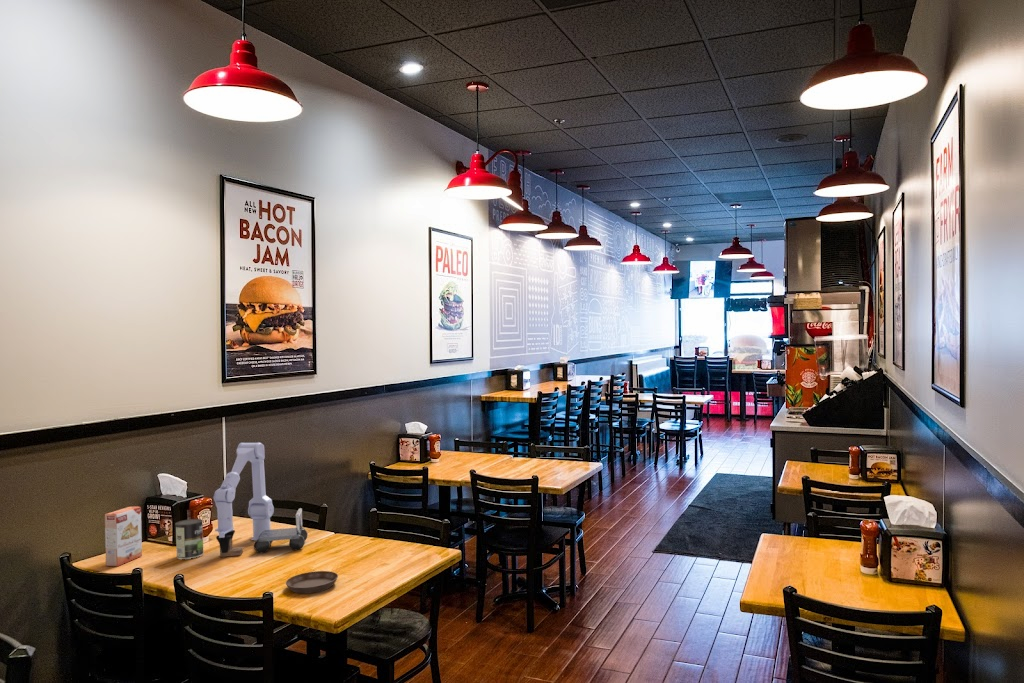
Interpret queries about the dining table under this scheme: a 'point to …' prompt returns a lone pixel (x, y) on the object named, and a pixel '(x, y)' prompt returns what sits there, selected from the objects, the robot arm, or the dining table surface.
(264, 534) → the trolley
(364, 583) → the dining table surface
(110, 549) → the cracker box
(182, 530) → the coffee can
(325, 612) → the dining table surface
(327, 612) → the dining table surface
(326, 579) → the plant saucer
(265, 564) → the dining table surface
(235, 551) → the brown l-shaped block
